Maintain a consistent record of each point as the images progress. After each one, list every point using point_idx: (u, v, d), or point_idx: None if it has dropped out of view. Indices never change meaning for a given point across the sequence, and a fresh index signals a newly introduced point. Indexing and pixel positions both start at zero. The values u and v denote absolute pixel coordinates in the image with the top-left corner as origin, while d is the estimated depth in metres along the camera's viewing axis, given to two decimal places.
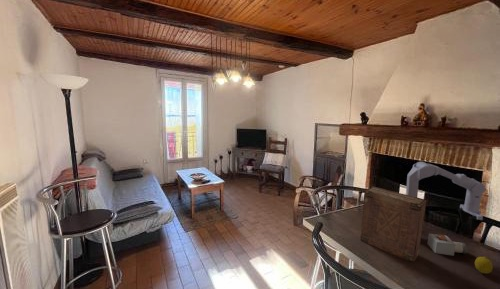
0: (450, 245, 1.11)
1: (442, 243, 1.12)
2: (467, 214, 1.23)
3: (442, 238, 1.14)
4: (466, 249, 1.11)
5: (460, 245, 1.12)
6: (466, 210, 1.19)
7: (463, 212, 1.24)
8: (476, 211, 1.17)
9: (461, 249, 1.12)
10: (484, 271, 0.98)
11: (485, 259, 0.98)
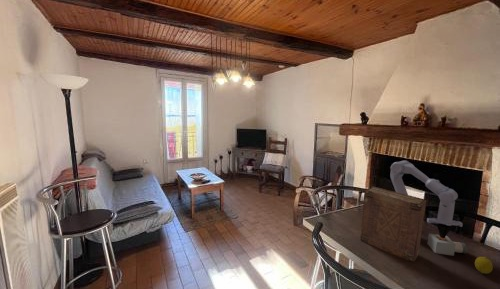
0: (450, 245, 1.11)
1: (442, 243, 1.12)
2: None
3: (442, 239, 1.14)
4: (466, 249, 1.11)
5: (460, 245, 1.12)
6: None
7: None
8: (439, 219, 1.14)
9: (461, 249, 1.12)
10: (484, 271, 0.98)
11: (485, 259, 0.98)
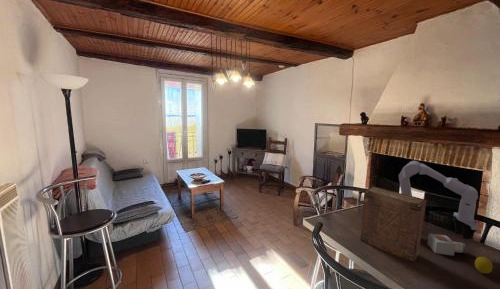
0: (450, 245, 1.11)
1: (442, 243, 1.12)
2: (462, 224, 1.14)
3: (442, 239, 1.14)
4: (466, 249, 1.11)
5: (460, 245, 1.12)
6: (460, 219, 1.11)
7: (458, 222, 1.15)
8: (470, 220, 1.08)
9: (461, 249, 1.12)
10: (484, 271, 0.98)
11: (485, 259, 0.98)
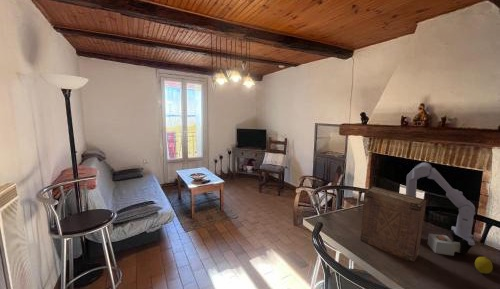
0: (450, 245, 1.11)
1: (442, 243, 1.12)
2: (460, 238, 1.16)
3: (442, 239, 1.14)
4: None
5: None
6: (457, 233, 1.12)
7: (456, 236, 1.16)
8: (468, 235, 1.10)
9: None
10: (484, 271, 0.98)
11: (485, 259, 0.98)
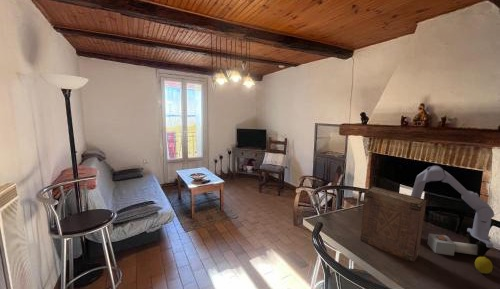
0: (450, 245, 1.11)
1: (442, 243, 1.12)
2: (476, 240, 1.14)
3: (442, 239, 1.14)
4: None
5: None
6: (474, 236, 1.10)
7: (472, 238, 1.14)
8: (485, 237, 1.08)
9: None
10: (484, 271, 0.98)
11: (485, 259, 0.98)
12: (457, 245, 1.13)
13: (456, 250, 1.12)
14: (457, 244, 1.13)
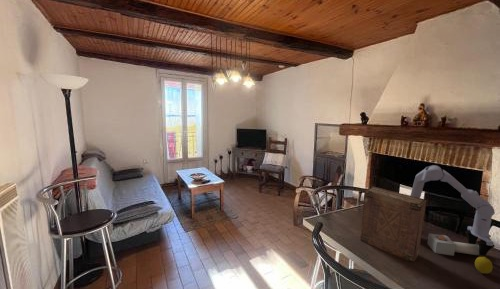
0: (450, 245, 1.11)
1: (442, 243, 1.12)
2: (475, 237, 1.15)
3: (442, 239, 1.14)
4: None
5: (477, 247, 1.11)
6: (475, 234, 1.10)
7: (471, 235, 1.15)
8: (486, 235, 1.08)
9: (478, 251, 1.10)
10: (484, 271, 0.98)
11: (485, 259, 0.98)
12: (457, 245, 1.13)
13: (456, 250, 1.12)
14: (457, 244, 1.13)
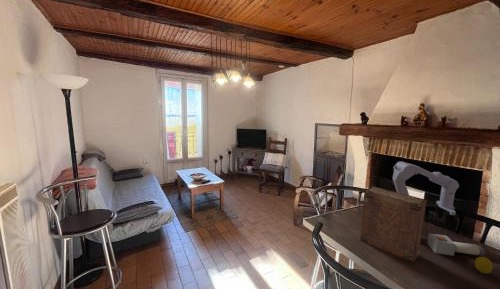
0: (450, 245, 1.11)
1: (442, 243, 1.12)
2: (443, 210, 1.29)
3: (442, 239, 1.14)
4: (483, 251, 1.09)
5: (477, 247, 1.11)
6: (441, 206, 1.24)
7: (439, 208, 1.29)
8: (450, 207, 1.22)
9: (478, 251, 1.10)
10: (484, 271, 0.98)
11: (485, 259, 0.98)
12: (457, 245, 1.13)
13: (456, 250, 1.12)
14: (457, 244, 1.13)
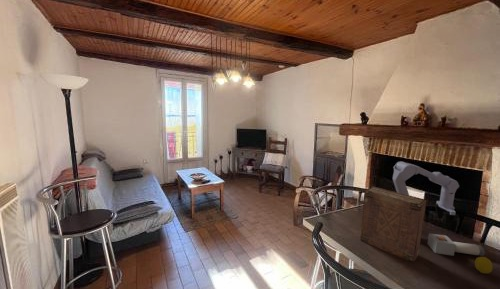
0: (450, 245, 1.11)
1: (442, 243, 1.12)
2: (443, 210, 1.29)
3: (442, 239, 1.14)
4: (483, 251, 1.09)
5: (477, 247, 1.11)
6: (441, 206, 1.24)
7: (439, 208, 1.29)
8: (450, 207, 1.22)
9: (478, 251, 1.10)
10: (484, 271, 0.98)
11: (485, 259, 0.98)
12: (457, 245, 1.13)
13: (456, 250, 1.12)
14: (457, 244, 1.13)
